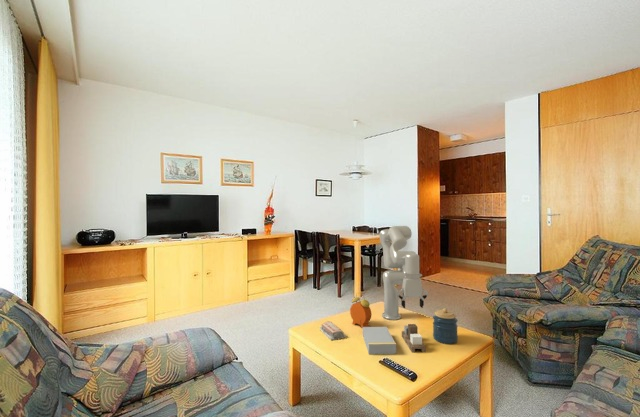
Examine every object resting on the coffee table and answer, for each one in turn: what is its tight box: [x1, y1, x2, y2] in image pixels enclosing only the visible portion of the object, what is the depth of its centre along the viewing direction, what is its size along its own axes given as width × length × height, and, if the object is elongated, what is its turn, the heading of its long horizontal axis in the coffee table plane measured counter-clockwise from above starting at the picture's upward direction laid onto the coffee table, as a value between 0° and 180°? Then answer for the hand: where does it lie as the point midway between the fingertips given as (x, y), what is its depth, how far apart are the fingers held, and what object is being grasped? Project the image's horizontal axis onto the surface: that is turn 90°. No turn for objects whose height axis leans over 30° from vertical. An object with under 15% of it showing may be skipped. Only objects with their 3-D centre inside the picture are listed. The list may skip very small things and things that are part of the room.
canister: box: [432, 307, 459, 345], centre depth 167 cm, size 13×13×18 cm
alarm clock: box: [349, 292, 372, 329], centre depth 188 cm, size 13×6×20 cm, turn 40°
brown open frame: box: [401, 323, 426, 353], centre depth 162 cm, size 19×7×10 cm, turn 0°
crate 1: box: [403, 325, 408, 336], centre depth 167 cm, size 4×5×4 cm
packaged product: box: [318, 320, 347, 341], centre depth 177 cm, size 18×5×10 cm
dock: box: [362, 326, 397, 355], centre depth 162 cm, size 22×14×5 cm, turn 0°
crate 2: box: [410, 333, 423, 345], centre depth 156 cm, size 4×5×4 cm
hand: (412, 307), depth 161 cm, fingers open, 9 cm apart
